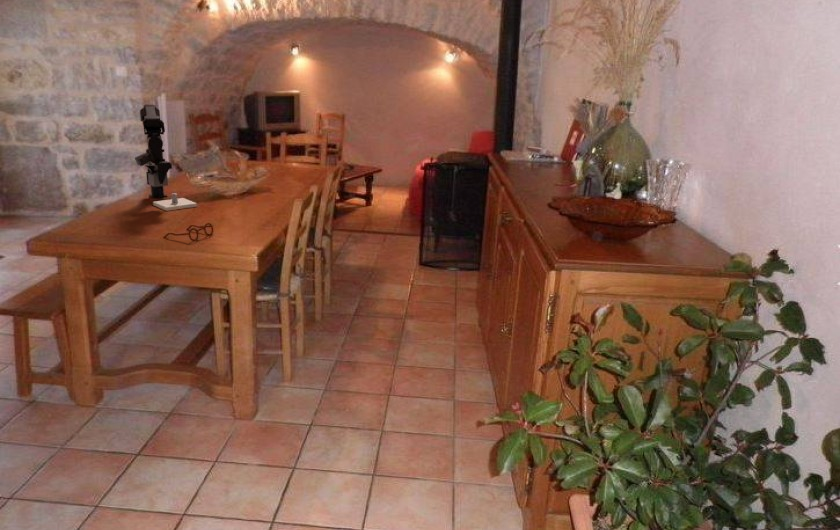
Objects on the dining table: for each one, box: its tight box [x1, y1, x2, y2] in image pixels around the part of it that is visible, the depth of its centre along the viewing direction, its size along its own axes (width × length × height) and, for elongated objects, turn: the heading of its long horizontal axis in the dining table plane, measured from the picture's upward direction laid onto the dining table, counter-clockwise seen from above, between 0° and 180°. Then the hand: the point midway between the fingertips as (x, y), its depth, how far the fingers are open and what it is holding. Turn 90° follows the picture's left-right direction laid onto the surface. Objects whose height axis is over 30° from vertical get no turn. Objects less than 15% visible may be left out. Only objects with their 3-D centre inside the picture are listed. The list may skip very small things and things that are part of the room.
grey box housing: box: [148, 173, 169, 187], centre depth 278 cm, size 6×6×5 cm
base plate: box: [152, 192, 198, 212], centre depth 284 cm, size 14×14×6 cm
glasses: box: [162, 222, 214, 242], centre depth 240 cm, size 13×13×5 cm
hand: (158, 182), depth 279 cm, fingers closed on grey box housing, 6 cm apart
